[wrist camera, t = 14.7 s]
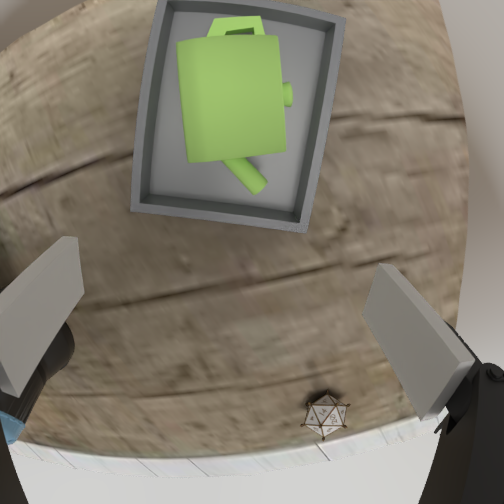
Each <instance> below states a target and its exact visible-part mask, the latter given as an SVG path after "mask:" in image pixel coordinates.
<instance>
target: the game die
mask: <svg viewBox="0 0 504 504" xmlns="http://www.w3.org/2000/svg"><path fill="white" fill-rule="evenodd" d="M326 393H327V394H326V395H324V396H323V397H321V398H319V399H318V400H316V401H315V402H313V403H311V402H308V403H306V406H308V410H307V414H306V418H305V422H304V424H301V425H300V426H301V427H302V426H304V425H305V426H307V427H308V428H310V429H311V430H313V431H314V432H316V433H317V434H319V435H321V436H322V437H323V438H322V441H324V440H325V436H327V435H329V434H331V433H333V432H334V431H336V430H338V429H339V428H341V427H343V428H347V426H346V425H344V421H345V415H346V408H347V407H348V406H350V405H351V404H347V405H345V404H343V403H342V402H340V401H338V400H337V399H335V398H334V397H332V396H331V395H329V394H328V393H329V390H327V391H326Z"/></svg>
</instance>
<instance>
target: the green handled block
mask: <svg viewBox="0 0 504 504" xmlns="http://www.w3.org/2000/svg"><path fill="white" fill-rule="evenodd" d="M246 32H252V35H233V34H239V33H246ZM176 55H177V68H178V80H179V91H180V102H181V112H182V121H183V130H184V138H185V146H186V154H187V161H188V163H198V162H211V161H219V160H221V161H222V162H223V163H224V164H225V166H226V167H227V168H228V169H229V170H230V171H231V172H232V173H233V174H234V175H235V176H236V177H237V178H238V180H239V181H240V182H241V183H242V184H243V185H244V186H245V187H246V188H247V189H248V190H249V191H250V193H251V194H252V195H256V194H257V193H259V192H260V191H261V190H262V189H263V188H264V187H265V186H266V184H267V183H268V181H267V179H266V178H265V177H264V176H263V175H262V174H261V173H260V172H259V171H258V170H257V169H256V168H255V167H254V166H253V165H252V164H251V163H250V162H249V161H248V160H247V159H246V158H245V157H251V156H258V155H266V154H273V153H281V152H285V151H286V130H285V113H284V106H286V107H291V106H292V103H293V90H292V86H291V84H290V82H285V83H282V73H281V61H280V51H279V41H278V36H276V35H265V32H264V28H263V24H262V21H261V17H260V16H242V17H226V18H215V19H214V20H213V23H212V25H211V27H210V29H209V32H208V34H207V37H200V38H194V39H188V40H184V41H179V42H176Z"/></svg>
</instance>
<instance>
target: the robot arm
mask: <svg viewBox="0 0 504 504" xmlns="http://www.w3.org/2000/svg"><path fill="white" fill-rule="evenodd" d="M84 293H85V292H84V286H83V279H82V272H81V264H80V256H79V246H78V237H70V236H62V237H61V238H60V239H59V240H58V241H56V242H55V243H54V244H53V245H52V246H51V247H49V248H48V249H47V250H46V251H45V252H44V253H43V254H42V255H40V256H39V257H38V258H37V259H36V260H35V261H34V262H33V263H32V264H30V265H29V266H28V267H27V268H26V269H25V270H24V271H23V272H22V273H21V274H20V275H19V276H18V277H17V278H16V279H15V280H14V281H13V282H11V283H10V284H9V285H8V286H6V287H4V288H3V289H1V290H0V504H28V501H27V499H26V496H25V494H24V491H23V489H22V486H21V484H20V481H19V478H18V476H17V473H16V470H15V467H14V465H13V461H12V459H11V455H10V452H9V449H8V445H9V444H13V443H14V442H15V441H16V440H17V438H18V437H19V435H20V433H21V431H22V430H23V428H25V423H26V421H27V419H28V417H29V415H30V413H31V411H32V409H33V407H34V405H35V403H36V401H37V399H38V397H39V395H40V393H41V391H42V389H43V387H44V385H45V383H46V381H47V380H48V379H50V378H51V377H52V376H53V375H54V374H56V373H57V372H58V371H59V370H61V369H62V368H64V367H65V366H66V365H67V364H68V362H69V360H70V359H71V357H72V355H73V352H74V340H73V337H72V334H71V332H70V330H69V328H68V326H67V324H66V323H65V320H66V319H67V317H68V316H69V314H70V313H71V312H72V310H73V309H74V307H75V306H76V304H77V303H78V301H79V300H80V298H81V297H82V296H83V294H84ZM362 315H363V317H364V319H365V321H366V322H367V324H368V326H369V327H370V329H371V331H372V333H373V334H374V336H375V338H376V340H377V341H378V343H379V345H380V347H381V348H382V350H383V352H384V354H385V355H386V357H387V359H388V361H389V363H390V364H391V366H392V368H393V370H394V372H395V374H396V375H397V377H398V379H399V381H400V383H401V385H402V387H403V388H404V390H405V392H406V394H407V396H408V398H409V400H410V402H411V404H412V405H413V407H414V409H415V411H416V413H417V415H418V417H419V419H420V421H424V420H429V419H433V418H437V416H438V415H439V414H440V412H441V411H442V410H443V408H444V407H445V406H446V408H447V410H448V411H449V413H448V414H447V416H446V417H445V418H444V419H443V421H442V422H441V423H440V424H439V426H438V427H437V428H436V430H435V431H434V433H435V434H436V433H437V432H438V431H439V430H440V429H442V431H441V434H440V438H439V442H438V446H437V450H436V453H435V456H434V460H433V463H432V466H431V470H430V472H429V476H428V478H427V481H426V484H425V487H424V490H423V492H422V495H421V498H420V500H419V503H418V504H504V371H503V370H502V369H501V368H500V367H499V366H497V365H495V364H492V363H484V364H482V363H481V361H480V360H479V359H478V358H477V356H476V355H475V354H474V353H473V351H472V350H471V349H470V348H469V346H468V345H467V344H466V343H465V342H464V340H463V339H462V338H461V337H460V336H458V333H457V332H456V331H455V330H454V328H453V327H452V326H451V325H449V324H448V323H447V322H445V321H444V320H443V319H442V318H441V317H440V316H439V315H438V314H437V313H436V311H435V310H434V309H433V308H432V307H431V306H430V305H429V303H428V302H427V301H426V300H425V299H424V298H423V297H422V296H421V294H420V293H419V292H418V291H417V290H416V289H415V288H414V287H413V286H412V285H411V284H410V282H409V281H408V280H407V279H406V278H405V277H404V276H403V275H402V274H401V273H400V272H399V271H398V270H397V269H396V268H395V266H394V265H393V264H382V263H378V267H377V270H376V273H375V276H374V280H373V283H372V286H371V289H370V292H369V295H368V298H367V301H366V304H365V307H364V310H363V313H362Z"/></svg>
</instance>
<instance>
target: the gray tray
mask: <svg viewBox="0 0 504 504" xmlns="http://www.w3.org/2000/svg"><path fill="white" fill-rule="evenodd" d="M242 16H260V17H261V21H262V24H263V28H264V32H265V35H276V36H278V41H279V51H280V61H281V73H282V83H285V82H290V84H291V86H292V90H293V103H292V106H291V107H286V106H284V113H285V130H286V151H285V152H281V153H273V154H266V155H258V156H251V157H245V158H246V159H247V160H248V161H249V162H250V163H251V164H252V165H253V166H254V167H255V168H256V169H257V170H258V171H259V172H260V173H261V174H262V175H263V176H264V177H265V178H266V179H267V181H268V183H267V184H266V186H265V187H264V188H263V189H262V190H261V191H260V192H259V193H257V194H256V195H252V194H251V193H250V191H249V190H248V189H247V188H246V187H245V186H244V185H243V184H242V183H241V182H240V181H239V180H238V178H237V177H236V176H235V175H234V174H233V173H232V172H231V171H230V170H229V169H228V168H227V167H226V166H225V164H224V163H223V162H222V161H221V160H219V161H211V162H198V163H188V161H187V154H186V146H185V138H184V130H183V121H182V112H181V102H180V91H179V80H178V68H177V55H176V42H179V41H184V40H188V39H194V38H200V37H207V34H208V32H209V29H210V27H211V25H212V23H213V20H214V19H215V18H226V17H242ZM345 23H346V18H344V17H340V16H337V15H333V14H330V13H326V12H322V11H318V10H314V9H310V8H306V7H301V6H297V5H292V4H287V3H282V2H276V1H271V0H158V2H157V6H156V10H155V15H154V19H153V23H152V28H151V33H150V38H149V43H148V48H147V53H146V59H145V65H144V71H143V77H142V83H141V90H140V97H139V105H138V113H137V122H136V131H135V142H134V153H133V167H132V184H131V208H130V211H131V212H141V213H150V214H158V215H167V216H176V217H184V218H193V219H201V220H209V221H217V222H225V223H233V224H241V225H248V226H256V227H263V228H271V229H278V230H285V231H292V232H299V233H307V229H308V224H309V220H310V215H311V211H312V206H313V202H314V197H315V193H316V188H317V183H318V178H319V174H320V169H321V164H322V159H323V154H324V149H325V144H326V138H327V133H328V128H329V122H330V117H331V111H332V106H333V100H334V94H335V88H336V83H337V76H338V70H339V64H340V58H341V51H342V44H343V38H344V31H345ZM233 35H252V32H246V33H239V34H233Z"/></svg>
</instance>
